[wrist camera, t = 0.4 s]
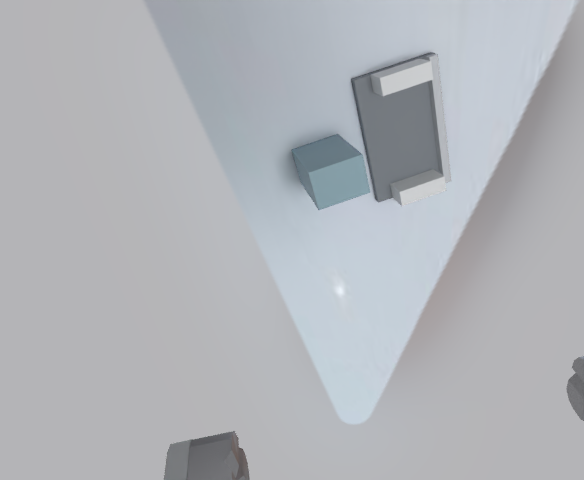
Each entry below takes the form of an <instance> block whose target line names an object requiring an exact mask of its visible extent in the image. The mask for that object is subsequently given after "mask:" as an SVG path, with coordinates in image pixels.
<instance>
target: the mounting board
mask: <svg viewBox="0 0 584 480" xmlns="http://www.w3.org/2000/svg"><path fill="white" fill-rule="evenodd" d="M351 80H352V85H353V90H354V95H355V100H356V105H357V110H358V115H359V120H360V125H361V129H362V134H363V139H364V144H365V149H366V154H367V159H368V164H369V169H370V174H371V179H372V184H373V188H374V193H375V198H376V200H377V201H378V202H381V201H384V200H387V199H390V198H394V199H395V200H396V201H397V202H398V203H399V204H400V205H401V206H404V205H407V204H409V203H412V202H415V201H418V200H421V199H424V198H427V197H429V196H432V195H435V194H438V193H441V192H444V191H446V185H445V183H447V182H450V181H451V173H450V164H449V155H448V145H447V136H446V127H445V118H444V108H443V99H442V90H441V81H440V71H439V62H438V54H435V53H428V54H425V55H422V56H419V57H416V58H413V59H410V60H407V61H404V62H401V63H398V64H395V65H392V66H389V67H386V68H383V69H380V70H377V71H374V72H371V73H368V74H365V75H362V76H359V77H356V78H353V79H351Z"/></svg>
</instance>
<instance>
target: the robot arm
mask: <svg viewBox="0 0 584 480" xmlns="http://www.w3.org/2000/svg"><path fill="white" fill-rule="evenodd" d="M572 368H573V370H574V371H575V372H576V373H575V374H574V375H573V376H572V377H571V378H570V379H569V380H568V384H567V393H568V398H569V401H570V403H571V405H572V407H573V409H574V410H575V412H576V413H577V415H578V416H579V417H580V419H581V420H583V421H584V356H583V357H579V358H577V359H576V360H574V363H573V366H572ZM238 445H239V444H238V437H237V435H236V433H235V431H233V432H228V433H223V434H218V435H213V436H208V437H204V438H199V439H194V440H188V441H183V442H179V443H174V444H170V447H169V449H168V452H167V459H166V468H165V476H164V480H249V471H248V463H247V460H246V456H245V453H244V451H243V449H242V448H239V446H238Z"/></svg>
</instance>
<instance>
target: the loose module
mask: <svg viewBox="0 0 584 480" xmlns="http://www.w3.org/2000/svg"><path fill="white" fill-rule="evenodd" d="M292 153H293V156H294V160H295V163H296V167H297V170H298V174H299V177H300V181H301V183H302V185H303V186H304V188H305V190H306V191H307V193H308V194H309V196H310V197H311V199H312V200H313V202H314V203H315V205H316V207H317V208H318V210H321V209H324V208H327V207H329V206H332V205H335V204H338V203H341V202H344V201H347V200H350V199H353V198H355V197H358V196H361V195H364V194H367V193H370V189H369V184H368V179H367V174H366V169H365V165H364V160H363V155H362V154H361V153H360V152H359V151H358V150H356V149H355V148H354V147H353V146H352V145H350V144H349V143H348V142H347V141H346V140H344V139H343V138H342V137H341V136H340V135H338V134H337V135H334V136H331V137H328V138H325V139H322V140H319V141H316V142H313V143H310V144H307V145H304V146H301V147H298V148H295V149H292Z"/></svg>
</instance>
